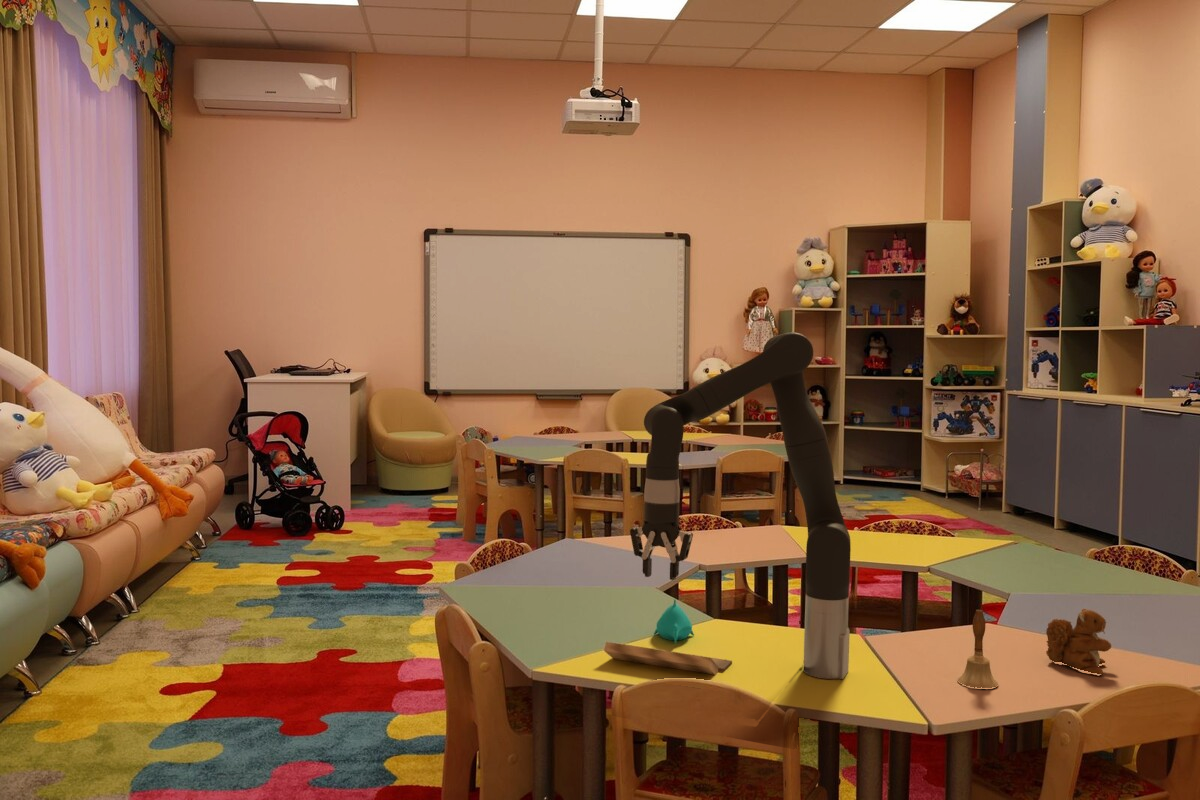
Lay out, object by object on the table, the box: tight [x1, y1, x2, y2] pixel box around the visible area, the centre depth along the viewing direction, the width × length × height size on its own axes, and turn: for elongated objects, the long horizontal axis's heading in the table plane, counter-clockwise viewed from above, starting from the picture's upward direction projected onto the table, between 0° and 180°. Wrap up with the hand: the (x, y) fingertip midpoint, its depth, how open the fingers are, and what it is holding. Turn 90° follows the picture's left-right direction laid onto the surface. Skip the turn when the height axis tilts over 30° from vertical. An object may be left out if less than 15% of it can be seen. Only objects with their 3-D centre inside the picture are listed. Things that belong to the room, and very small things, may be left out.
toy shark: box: [653, 598, 695, 644], centre depth 243 cm, size 10×18×11 cm, turn 178°
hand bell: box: [957, 609, 999, 688], centre depth 217 cm, size 8×8×16 cm
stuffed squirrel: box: [1045, 608, 1112, 674], centre depth 230 cm, size 10×14×13 cm
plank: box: [603, 641, 719, 676], centre depth 221 cm, size 24×7×2 cm
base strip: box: [622, 643, 733, 673], centre depth 227 cm, size 26×6×2 cm, turn 66°
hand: (660, 577), depth 218 cm, fingers open, 5 cm apart
